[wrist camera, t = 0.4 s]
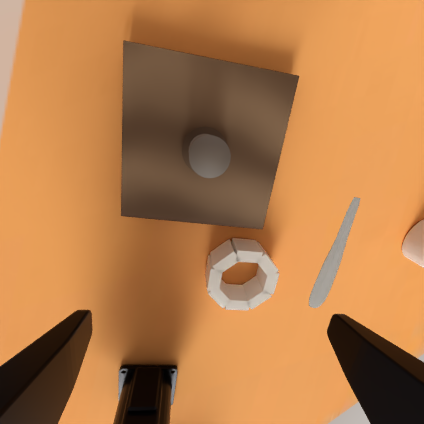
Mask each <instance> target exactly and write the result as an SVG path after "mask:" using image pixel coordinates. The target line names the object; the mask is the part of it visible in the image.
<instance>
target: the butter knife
mask: <svg viewBox="0 0 424 424" xmlns="http://www.w3.org/2000/svg"><path fill="white" fill-rule="evenodd" d="M359 202H360V198H356V197H354V199H353V201H352V203H351V205H350V207H349V209H348V211H347V213H346V215H345V218H344V220H343V223H342V225H341V228H340V230H339V232H338V235H337V237H336V240H335V242H334V244H333V246H332V248H331V250H330V252H329V254H328V256H327V257H326V259H325V261H324V264H323V266H322V268H321V270H320V273H319V275H318V277H317V280H316V282H315V284H314V287H313V289H312V292H311V295H310V298H309V306H310V307H313V308H317V307H319V306H320V305H321V304H322V303H323V302H324V301H325V299H326V297H327V295H328V293H329V291H330V289H331V286H332V284H333V281H334V278H335V276H336V273H337V270H338V268H339V265H340V262H341V259H342V255H343V252H344V248H345V245H346V241H347V238H348V235H349V232H350V229H351V226H352V223H353V220H354V217H355V214H356V212H357V209H358V206H359Z"/></svg>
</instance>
